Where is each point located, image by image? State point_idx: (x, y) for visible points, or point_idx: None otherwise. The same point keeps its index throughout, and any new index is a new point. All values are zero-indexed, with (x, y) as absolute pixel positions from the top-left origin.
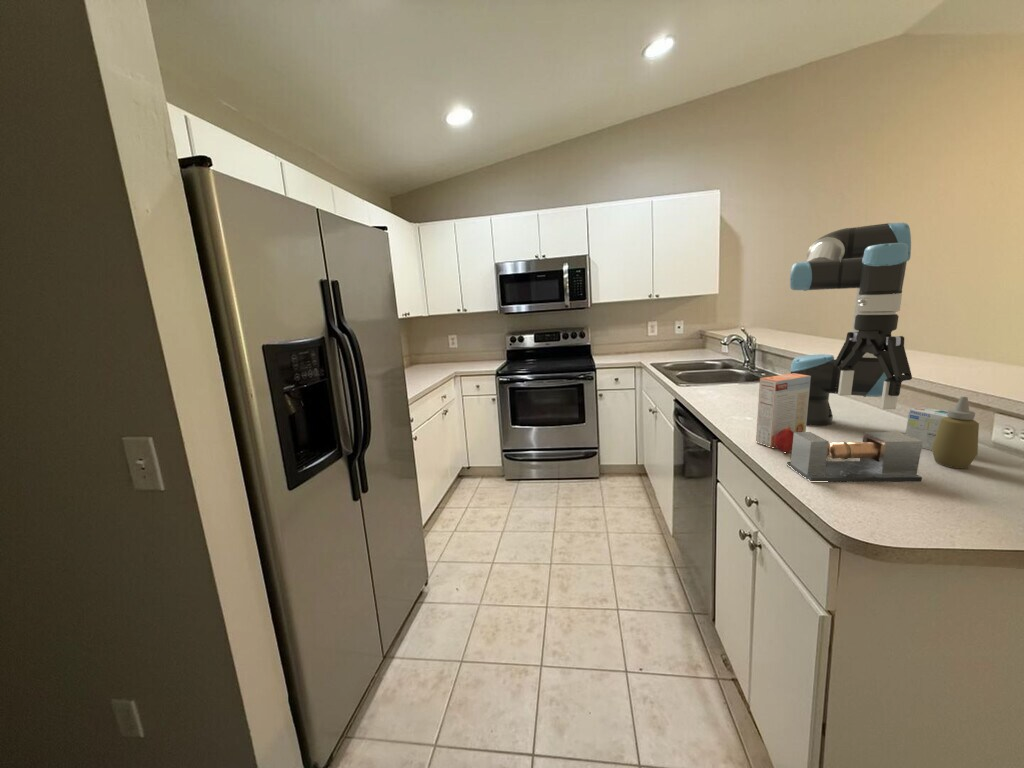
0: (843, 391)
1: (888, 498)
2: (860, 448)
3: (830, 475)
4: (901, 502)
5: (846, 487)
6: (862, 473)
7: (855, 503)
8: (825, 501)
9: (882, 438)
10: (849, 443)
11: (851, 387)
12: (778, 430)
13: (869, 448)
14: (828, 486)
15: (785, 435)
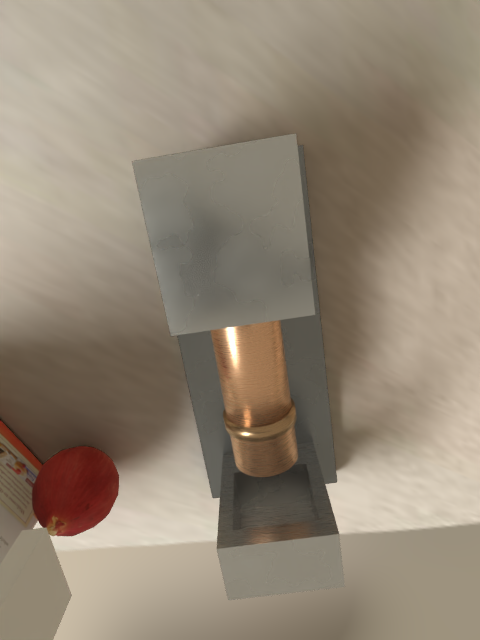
0: (49, 611)
1: (430, 326)
2: (282, 376)
3: (314, 427)
4: (456, 306)
5: (361, 398)
6: (287, 329)
7: (460, 422)
8: (449, 482)
9: (266, 305)
10: (265, 415)
11: (11, 599)
12: (9, 514)
13: (277, 342)
14: (357, 440)
15: (93, 523)
